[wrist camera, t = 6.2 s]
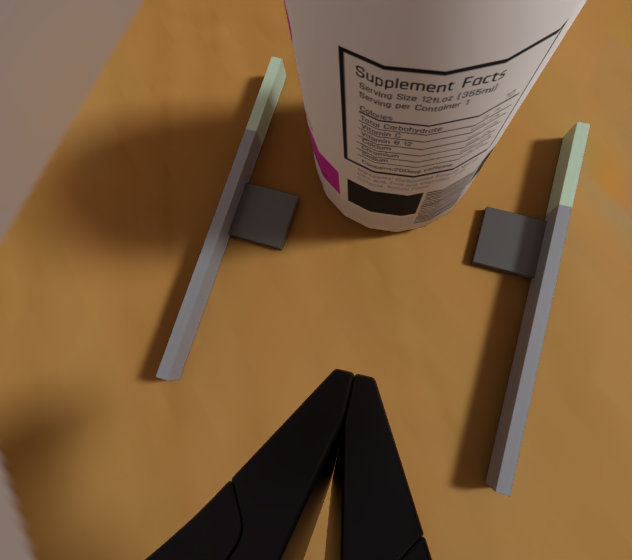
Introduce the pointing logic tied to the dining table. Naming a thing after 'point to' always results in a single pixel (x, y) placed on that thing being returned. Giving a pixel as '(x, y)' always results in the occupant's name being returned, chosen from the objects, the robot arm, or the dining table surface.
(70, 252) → the dining table surface
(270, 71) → the grey bars
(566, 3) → the supplement can
